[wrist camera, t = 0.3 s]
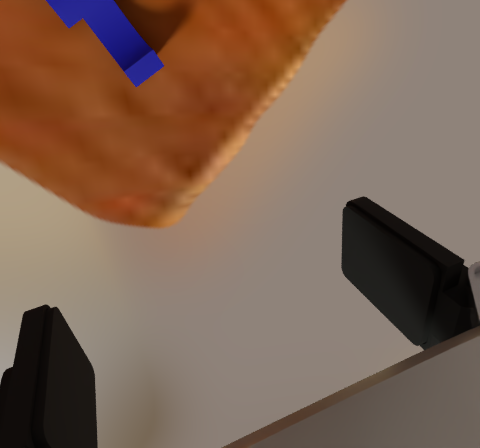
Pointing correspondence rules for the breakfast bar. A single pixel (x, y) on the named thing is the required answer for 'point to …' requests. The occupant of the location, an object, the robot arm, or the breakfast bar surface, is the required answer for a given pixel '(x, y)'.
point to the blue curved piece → (112, 35)
